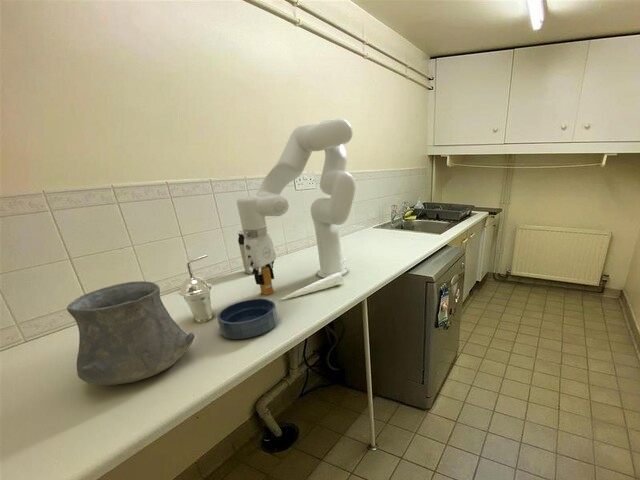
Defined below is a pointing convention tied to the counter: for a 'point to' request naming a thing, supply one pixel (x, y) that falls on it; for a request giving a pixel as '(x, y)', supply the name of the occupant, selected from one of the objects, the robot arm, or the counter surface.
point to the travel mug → (241, 245)
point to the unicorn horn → (318, 285)
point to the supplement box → (266, 281)
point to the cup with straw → (197, 295)
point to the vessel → (125, 334)
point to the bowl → (247, 318)
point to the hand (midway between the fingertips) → (265, 281)
